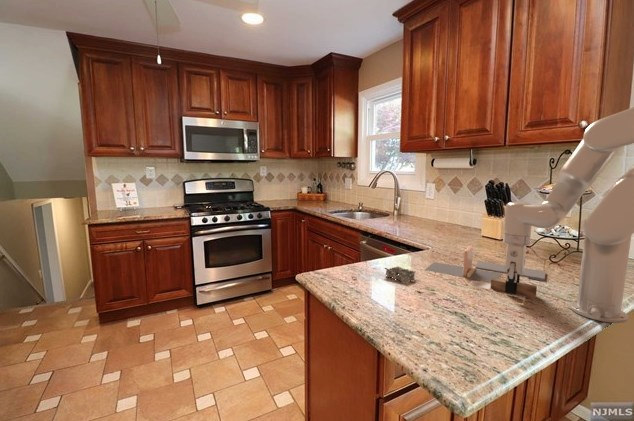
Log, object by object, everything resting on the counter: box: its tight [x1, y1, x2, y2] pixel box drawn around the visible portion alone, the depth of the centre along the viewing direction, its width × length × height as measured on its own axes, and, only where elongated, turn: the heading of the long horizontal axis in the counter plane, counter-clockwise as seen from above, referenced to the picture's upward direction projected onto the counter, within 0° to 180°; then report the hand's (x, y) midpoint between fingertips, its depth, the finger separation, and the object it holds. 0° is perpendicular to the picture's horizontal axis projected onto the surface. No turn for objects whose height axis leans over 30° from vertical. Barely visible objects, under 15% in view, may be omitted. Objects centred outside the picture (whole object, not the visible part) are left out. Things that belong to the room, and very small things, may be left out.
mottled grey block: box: [384, 266, 417, 283], centre depth 120 cm, size 11×8×4 cm
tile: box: [462, 245, 474, 276], centre depth 123 cm, size 10×1×10 cm, turn 142°
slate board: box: [473, 260, 546, 282], centre depth 126 cm, size 10×24×1 cm, turn 52°
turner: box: [467, 278, 538, 299], centre depth 107 cm, size 20×6×4 cm, turn 52°
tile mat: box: [424, 261, 502, 284], centre depth 125 cm, size 13×26×2 cm, turn 52°
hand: (512, 288), depth 105 cm, fingers open, 8 cm apart
